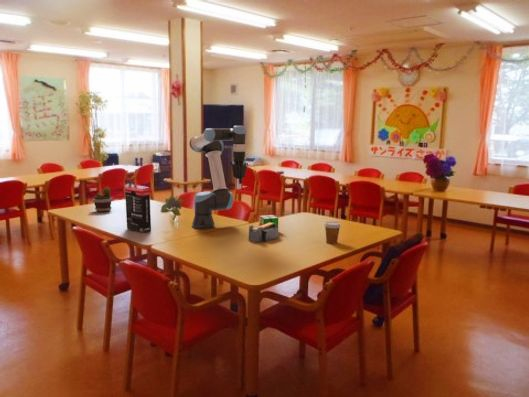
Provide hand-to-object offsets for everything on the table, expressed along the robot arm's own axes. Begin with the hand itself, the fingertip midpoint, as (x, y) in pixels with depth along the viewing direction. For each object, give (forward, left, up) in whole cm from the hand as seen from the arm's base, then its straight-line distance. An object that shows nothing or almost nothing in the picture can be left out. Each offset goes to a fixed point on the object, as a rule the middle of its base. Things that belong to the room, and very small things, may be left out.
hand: (239, 188), depth 284 cm
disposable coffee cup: (+55, +22, -30) cm, 66 cm away
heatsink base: (+18, +3, -29) cm, 35 cm away
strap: (+18, +2, -23) cm, 29 cm away
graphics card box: (-56, -35, -30) cm, 72 cm away
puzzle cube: (+10, +18, -30) cm, 36 cm away
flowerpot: (-126, -16, -30) cm, 130 cm away
